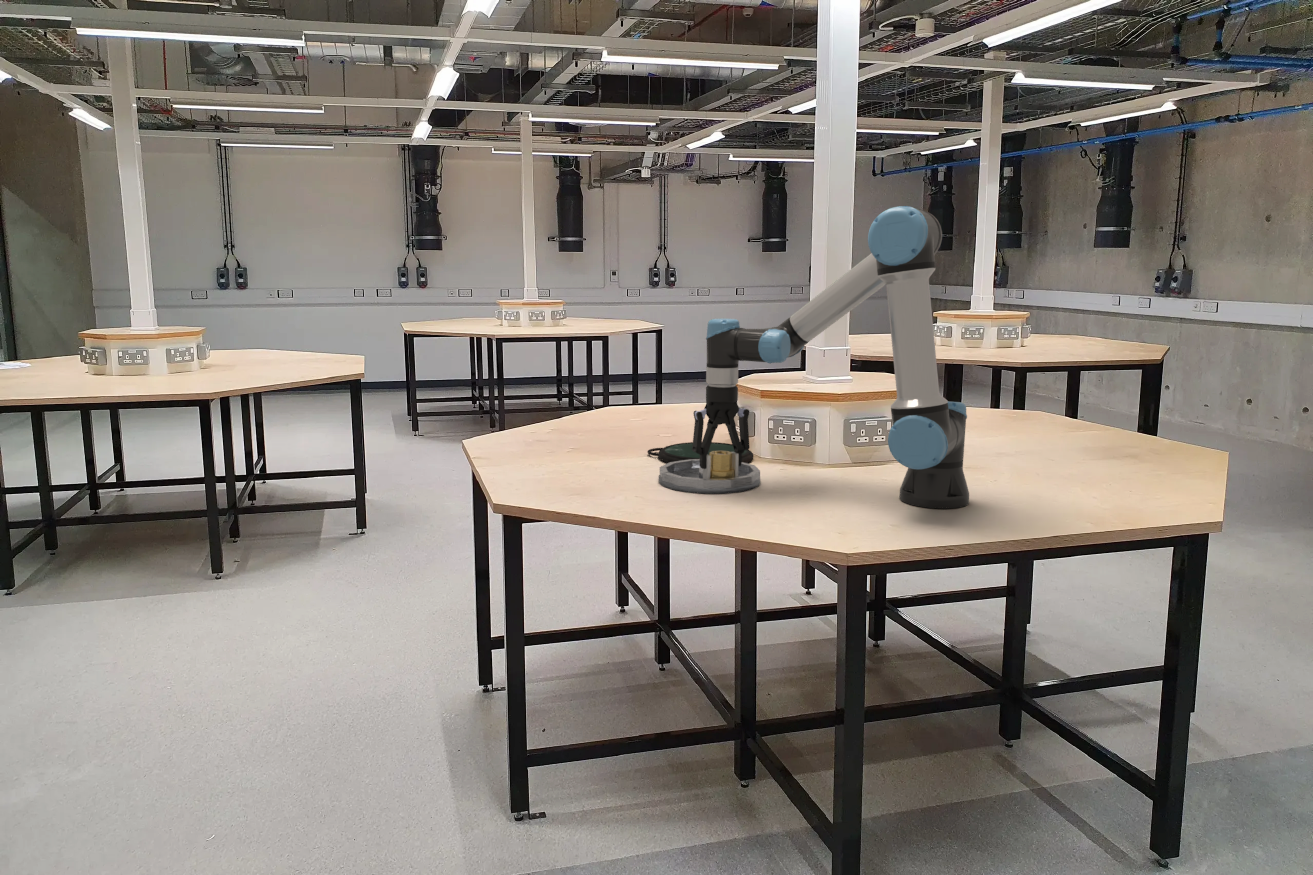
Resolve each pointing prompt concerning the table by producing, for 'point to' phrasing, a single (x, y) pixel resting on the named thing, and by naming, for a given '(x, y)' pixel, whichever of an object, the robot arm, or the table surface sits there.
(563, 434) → the table surface
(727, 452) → the brass hex pipe fitting
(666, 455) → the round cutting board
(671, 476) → the carrier
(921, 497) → the robot arm
